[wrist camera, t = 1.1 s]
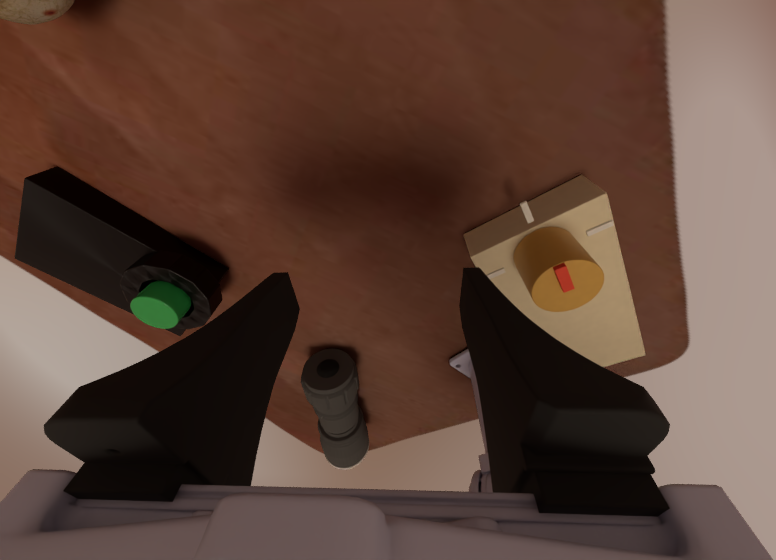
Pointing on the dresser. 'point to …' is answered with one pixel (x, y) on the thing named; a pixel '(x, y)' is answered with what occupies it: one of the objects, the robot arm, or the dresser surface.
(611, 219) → the dial box
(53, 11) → the figurine
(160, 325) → the release button
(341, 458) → the flashlight
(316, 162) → the dresser surface
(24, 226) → the box
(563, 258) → the lock knob
